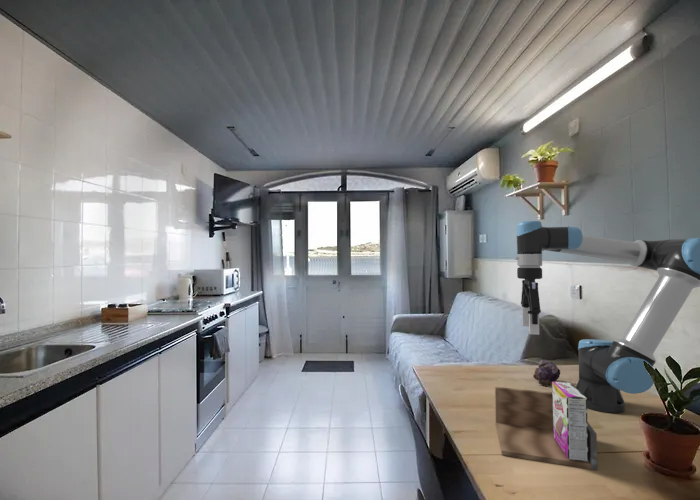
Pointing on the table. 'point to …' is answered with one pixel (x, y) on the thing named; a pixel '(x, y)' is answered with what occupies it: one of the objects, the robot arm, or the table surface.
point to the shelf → (533, 428)
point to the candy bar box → (570, 421)
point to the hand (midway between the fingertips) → (530, 330)
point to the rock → (546, 372)
